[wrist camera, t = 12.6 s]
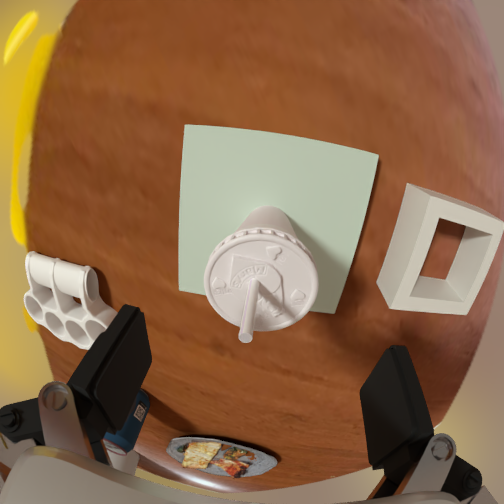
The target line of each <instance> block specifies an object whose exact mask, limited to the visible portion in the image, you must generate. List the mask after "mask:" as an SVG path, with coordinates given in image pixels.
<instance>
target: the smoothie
mask: <svg viewBox="0 0 504 504" xmlns="http://www.w3.org/2000/svg"><path fill="white" fill-rule="evenodd" d="M204 288H205V293H206V296H207V298H208V300H209V302H210V304H211V305H212V307H213V308H214V309H215V311H216V312H217V313H218V314H219V315H220V316H222V317H223V318H224V319H226V320H227V321H229V322H230V323H232V324H234V325H236V326H239V327H240V332H239V340H240V341H242V342H245V343H248V342H250V341H251V340H252V337H253V330H254V331H273V330H278V329H282V328H285V327H288V326H290V325H292V324H294V323H296V322H297V321H299V320H300V319H301V318H303V317H304V316H305V315H306V314H307V313H308V311H309V310H310V309H311V307H312V306H313V304H314V302H315V300H316V297H317V293H318V273H317V265H316V263H315V261H314V259H313V256H312V254H311V252H310V251H309V250H308V249H307V248H306V247H305V245H304V244H303V243H302V242H301V241H299V240H298V238H297V236H296V234H295V232H294V230H293V228H292V226H291V224H290V222H289V220H288V218H287V216H286V214H285V213H284V212H283V211H282V210H280V209H279V208H277V207H274V206H270V205H265V206H260V207H258V208H256V209H254V210H253V211H252V212H251V213H250V214H249V216H248V217H247V218H246V219H245V220H244V222H243V223H242V224H241V225H240V226H239V228H238V229H237V230H236V231H235V232H234V233H233V234H231V235H229V236H227V237H226V238H225V239H224V240H223V241H221V242H220V243H219V244H218V245H217V246H216V247H215V249H214V251H213V252H212V254H211V255H210V257H209V260H208V264H207V266H206V269H205V273H204Z"/></svg>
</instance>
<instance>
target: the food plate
mask: <svg viewBox="0 0 504 504" xmlns="http://www.w3.org/2000/svg"><path fill="white" fill-rule="evenodd" d="M222 444H227V445H231V446H232V445H233V446H232V447H230V448H229V449H227V450H225V451H221V447H222ZM234 446H236V447H234ZM243 449H246V450H248V451H251V452H253V453H255V454H256V455H255V457H258V458H256V459H255V460H257V461H255V460H250V459H248V460H247V458H248V457H249V456H248V457H246V456H244V455H246V453H247V451H245V450H243ZM166 451H167V453H168V454H169V455H170V456H171V457H172V458H174V459H176V460H177V461H178V462H180V463H182V467H183V468H193V469H197V470H200V471H203V472H206V473H210V474H214V475H220V476H229V477H233V479H234V478H240V477H245V476H253V475H261V474H263V473H265V472H266V471H268V470H270V469H272V468H273V467H275V466H276V465H277V460H276V458H274V457H272V456H268V455H267V454H265V453H263V452H261V451H257V450H255V449H252V448H250V447H249V448H248V447H243V446H241V445H237V444H235V443H233V444H232V443H229V442H224V441H220V440H217V439H209V438H196V437H194V438H193V437H190V438H189V437H183V438H175V439H172V440H171V441H170V443H169V445H168V447H167V449H166ZM251 457H252V456H251ZM216 458H218V459H216ZM219 458H220V459H219ZM250 461H252V462H250Z"/></svg>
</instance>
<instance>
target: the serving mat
mask: <svg viewBox="0 0 504 504" xmlns="http://www.w3.org/2000/svg"><path fill="white" fill-rule="evenodd" d="M378 157H379V155H377V154H374V153H370V152H367V151H363V150H359V149H355V148H351V147H346V146H342V145H338V144H333V143H328V142H324V141H319V140H313V139H308V138H303V137H297V136H291V135H285V134H279V133H272V132H264V131H257V130H249V129H239V128H229V127H218V126H204V125H185V130H184V142H183V154H182V169H181V186H180V210H179V290H181V291H186V292H191V293H197V294H202V295H206V293H205V288H204V273H205V269H206V266H207V264H208V260H209V257H210V255H211V254H212V252H213V251H214V249H215V247H216V246H217V245H218V244H219V243H220V242H221V241H223V240H224V239H225V238H226V237H227V236H229V235H231V234H233V233H234V232H235V231H236V230H237V229H238V228H239V226H240V225H241V224H242V223H243V222H244V220H245V219H246V218H247V217H248V216H249V214H250V213H251V212H252V211H253V210H254V209H256V208H258V207H260V206H265V205H270V206H274V207H277V208H279V209H280V210H282V211H283V212H284V213H285V214H286V216H287V218H288V220H289V222H290V224H291V226H292V228H293V230H294V232H295V234H296V236H297V238H298V240H299V241H301V242H302V243H303V244H304V245H305V247H306V248H307V249H308V250H309V251H310V252H311V254H312V256H313V259H314V261H315V263H316V265H317V273H318V293H317V297H316V300H315V302H314V304H313V306H312V307H311V309H310V310H309V311H315V312H323V313H332V314H334V313H335V311H336V308H337V305H338V302H339V299H340V297H341V294H342V291H343V288H344V285H345V282H346V279H347V276H348V273H349V270H350V266H351V263H352V260H353V257H354V253H355V250H356V247H357V243H358V240H359V236H360V233H361V229H362V225H363V222H364V218H365V214H366V210H367V206H368V202H369V198H370V194H371V190H372V185H373V181H374V176H375V172H376V167H377V162H378Z"/></svg>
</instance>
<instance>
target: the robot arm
mask: <svg viewBox="0 0 504 504" xmlns="http://www.w3.org/2000/svg"><path fill="white" fill-rule="evenodd" d="M151 362H152V355H151V350H150V345H149V340H148V335H147V329H146V323H145V317H144V313H143V312H141V311H140V308H138V307H134V306H131V305H127V304H125V305H123V306H122V308H121V309H120V311H119V312H118V313H117V315H116V316H115V318H114V319H113V320H112V322H111V323H110V325H109V326H108V328H107V329H106V331H105V332H102V333H100V334H99V336H98V337H97V338H96V340H95V341H94V343H93V344H92V346H91V347H90V349H89V350H88V352H87V353H86V355H85V356H84V358H83V359H82V361H81V362H80V364H79V365H78V367H77V368H76V370H75V372H74V373H73V375H72V376H71V378H70V379H69V381H68V383H67V384H65V383H63V382H59V381H52V382H50V383H47V384H46V385H45V386H43V388H42V389H41V390H40V393H39V395H38V398H34V399H30V400H26V401H22V402H17V403H13V404H9V405H6V406H3V407H2V408H1V409H0V504H263V503H251V502H242V501H235V500H227V499H221V498H215V497H210V496H204V495H200V494H195V493H191V492H186V491H182V490H178V489H174V488H171V487H167V486H164V485H161V484H157V483H154V482H151V481H148V480H145V479H142V478H139V477H136V476H133V475H131V474H128V473H125V472H122V471H120V470H117V469H115V468H114V467H113V465H112V462H111V460H110V457H109V455H108V452H107V449H106V447H105V444H104V441H103V438H104V436H105V434H106V432H108V433H110V434H113V435H116V432H117V430H118V431H120V430H121V429H122V428H123V426H124V423H125V421H126V419H127V416H128V414H129V412H130V410H131V407H132V405H133V403H134V400H135V398H136V396H137V394H138V392H139V389H140V387H141V385H142V383H143V381H144V378H145V376H146V374H147V372H148V370H149V368H150V365H151ZM360 400H361V406H362V413H363V419H364V426H365V434H366V442H367V450H368V459H369V463H370V464H371V465H372V468H373V470H377V469H384V476H383V477H382V479H381V480H380V482H379V483H378V485H377V486H376V487H375V489H374V490H373V492H372V493H371V494H370V495H369V497H368V498H367V500H364V501H356V502H347V503H337V504H498V503H497V502H496V500H495V499H494V498H493V496H492V495H491V494H490V492H489V491H488V490H487V488H486V487H485V486H482V487H481V485H482V476H481V473H480V471H479V470H478V469H477V468H475V467H473V466H472V465H470V464H469V463H467V462H466V461H464V460H463V459H461V458H460V457H458V456H457V455H456V445H455V442H454V440H453V439H452V438H451V437H450V436H449V435H447V434H444V433H440V434H436V435H435V436H434V429H433V425H432V422H431V418H430V415H429V411H428V408H427V405H426V401H425V398H424V395H423V392H422V389H421V386H420V383H419V380H418V377H417V374H416V371H415V369H414V366H413V363H412V360H411V358H410V355H409V352H408V350H407V348H406V346H397V345H392V346H390V348H389V349H386V350H385V352H384V353H383V355H382V357H381V358H380V360H379V362H378V363H377V365H376V366H375V368H374V369H373V371H372V372H371V374H370V375H369V377H368V378H367V380H366V381H365V383H364V384H363V386H362V387H361V389H360Z"/></svg>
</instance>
